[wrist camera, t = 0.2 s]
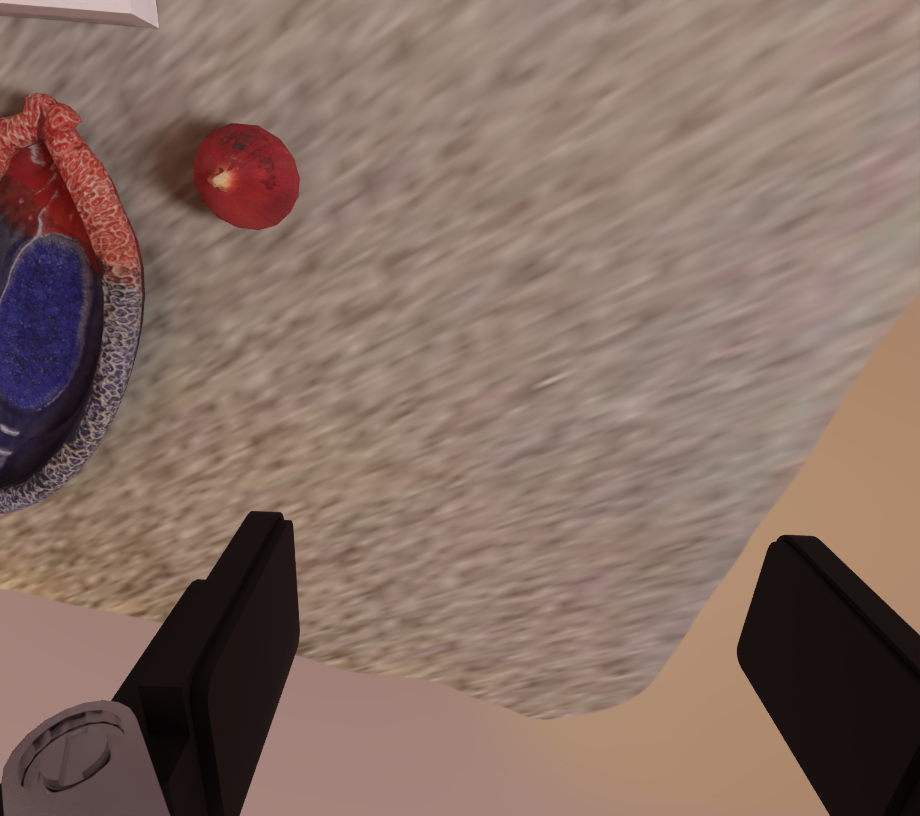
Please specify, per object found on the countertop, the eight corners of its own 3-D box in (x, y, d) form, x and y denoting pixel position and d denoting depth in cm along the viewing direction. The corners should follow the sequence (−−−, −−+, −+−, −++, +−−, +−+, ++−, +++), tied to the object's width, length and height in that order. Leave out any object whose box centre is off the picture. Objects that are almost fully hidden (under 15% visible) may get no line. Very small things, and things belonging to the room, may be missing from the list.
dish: (-106, 438, 43) (-173, 468, 39) (-13, 45, 34) (-88, 22, 29) (90, 523, 46) (49, 560, 42) (227, 185, 37) (193, 185, 32)
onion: (242, 111, 35) (185, 90, 27) (326, 160, 36) (292, 153, 28) (210, 197, 37) (148, 199, 29) (291, 241, 38) (250, 254, 30)
